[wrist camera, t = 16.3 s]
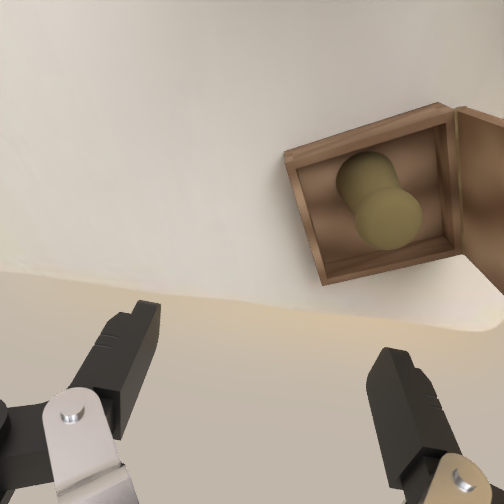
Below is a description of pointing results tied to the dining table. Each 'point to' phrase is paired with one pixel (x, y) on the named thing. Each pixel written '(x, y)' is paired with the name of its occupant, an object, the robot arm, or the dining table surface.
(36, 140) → the dining table surface
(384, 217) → the olive tapered rounded piece
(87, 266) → the dining table surface
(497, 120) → the box lid
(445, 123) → the walnut box
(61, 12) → the dining table surface
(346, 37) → the dining table surface
